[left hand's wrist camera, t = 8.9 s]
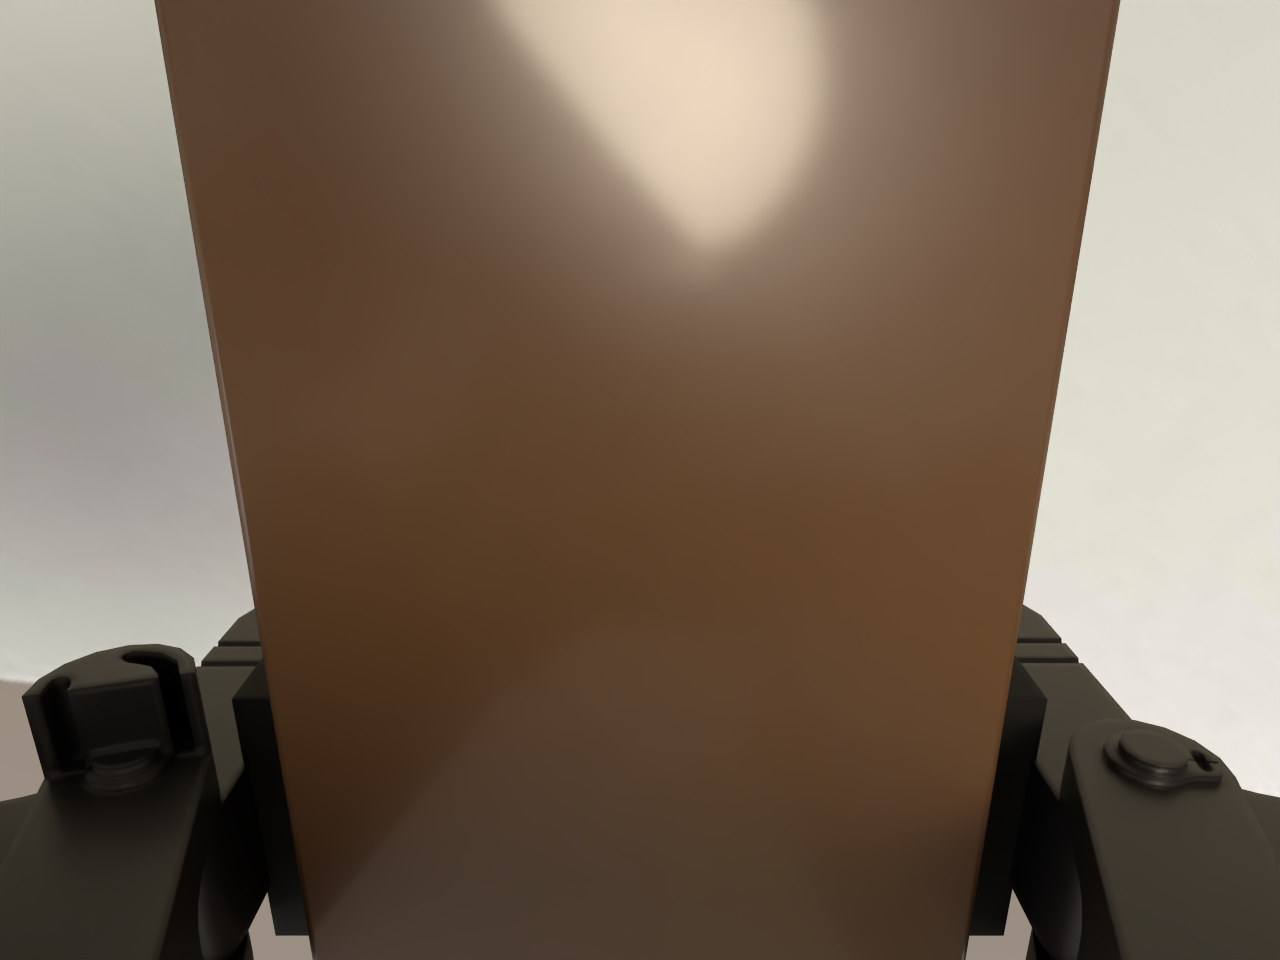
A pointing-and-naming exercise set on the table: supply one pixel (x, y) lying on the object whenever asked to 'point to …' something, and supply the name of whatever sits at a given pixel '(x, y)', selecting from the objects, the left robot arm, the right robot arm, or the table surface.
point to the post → (638, 448)
